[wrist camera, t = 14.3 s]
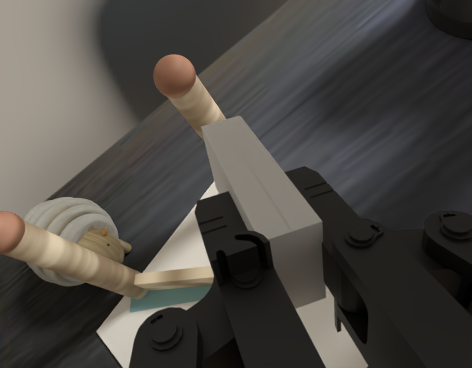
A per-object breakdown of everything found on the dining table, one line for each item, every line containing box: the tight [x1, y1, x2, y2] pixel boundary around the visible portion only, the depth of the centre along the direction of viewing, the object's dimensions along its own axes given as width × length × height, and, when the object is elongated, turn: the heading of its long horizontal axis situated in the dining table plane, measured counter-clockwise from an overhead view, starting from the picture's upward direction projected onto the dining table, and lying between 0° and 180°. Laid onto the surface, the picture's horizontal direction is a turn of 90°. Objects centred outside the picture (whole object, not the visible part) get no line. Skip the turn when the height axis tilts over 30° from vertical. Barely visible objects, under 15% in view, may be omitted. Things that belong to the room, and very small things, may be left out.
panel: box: [0, 211, 214, 299], centre depth 35 cm, size 14×3×20 cm, turn 89°
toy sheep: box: [23, 197, 131, 286], centre depth 46 cm, size 11×17×11 cm, turn 69°
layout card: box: [96, 181, 368, 368], centre depth 40 cm, size 28×26×1 cm
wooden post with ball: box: [154, 55, 226, 142], centre depth 35 cm, size 15×3×21 cm, turn 2°
